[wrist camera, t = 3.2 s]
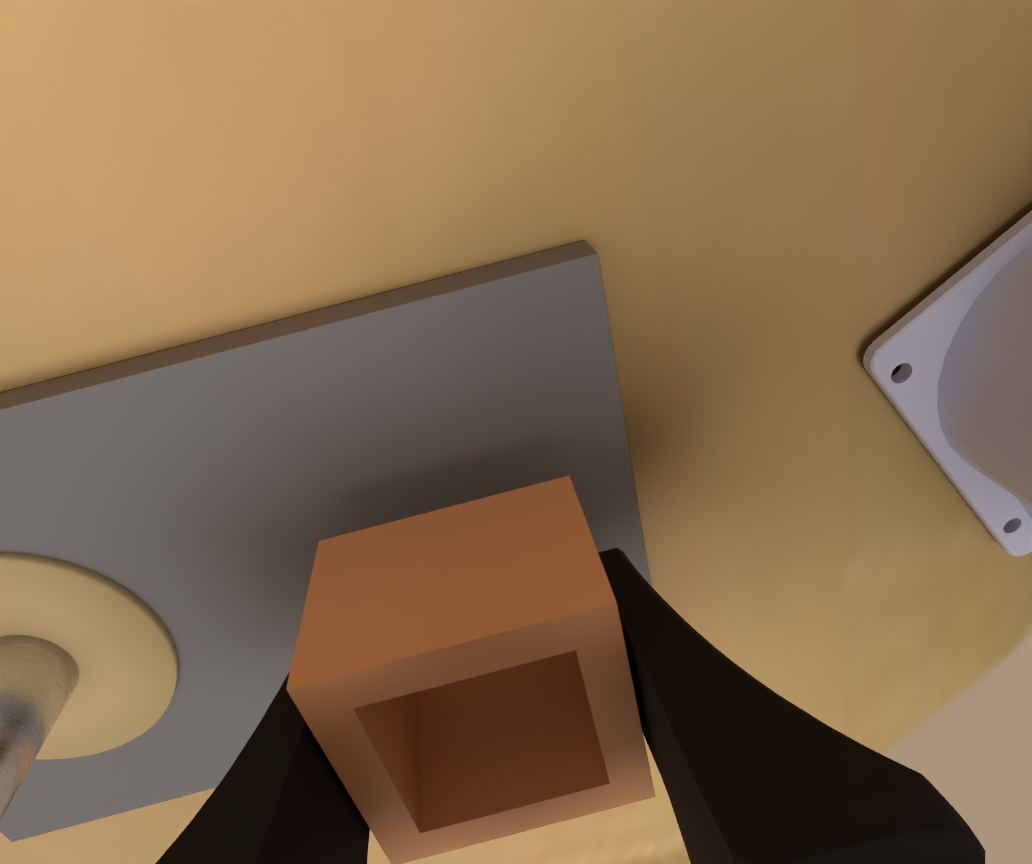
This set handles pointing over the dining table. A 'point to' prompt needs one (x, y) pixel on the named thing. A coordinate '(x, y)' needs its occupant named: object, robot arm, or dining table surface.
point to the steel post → (29, 703)
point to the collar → (470, 673)
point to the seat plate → (275, 500)
